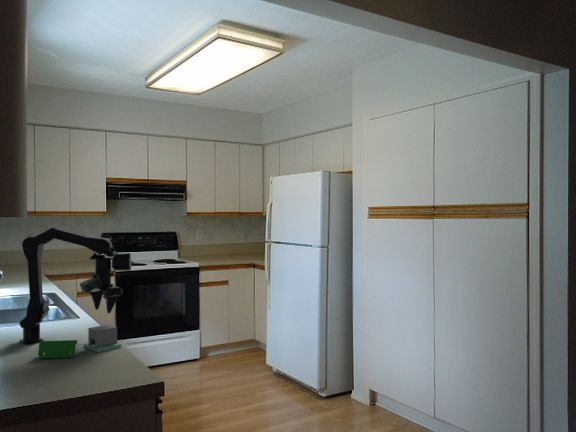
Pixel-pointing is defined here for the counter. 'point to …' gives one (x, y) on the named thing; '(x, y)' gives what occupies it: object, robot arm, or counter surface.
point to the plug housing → (102, 335)
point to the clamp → (57, 349)
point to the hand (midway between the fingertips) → (102, 311)
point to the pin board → (103, 348)
